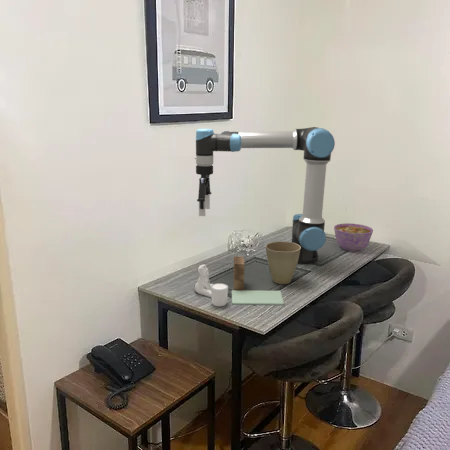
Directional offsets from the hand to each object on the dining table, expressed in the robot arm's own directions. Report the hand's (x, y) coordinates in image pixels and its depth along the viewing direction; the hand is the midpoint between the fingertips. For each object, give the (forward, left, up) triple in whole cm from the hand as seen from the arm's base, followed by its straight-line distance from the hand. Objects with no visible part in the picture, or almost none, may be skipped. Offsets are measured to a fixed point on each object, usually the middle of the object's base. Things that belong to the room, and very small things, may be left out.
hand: (204, 212), depth 204 cm
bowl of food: (-77, -32, -27) cm, 88 cm away
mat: (-22, +31, -27) cm, 47 cm away
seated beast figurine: (-1, +26, -28) cm, 38 cm away
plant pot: (-34, +13, -27) cm, 46 cm away
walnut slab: (-15, +20, -27) cm, 37 cm away
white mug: (-7, +36, -27) cm, 46 cm away
